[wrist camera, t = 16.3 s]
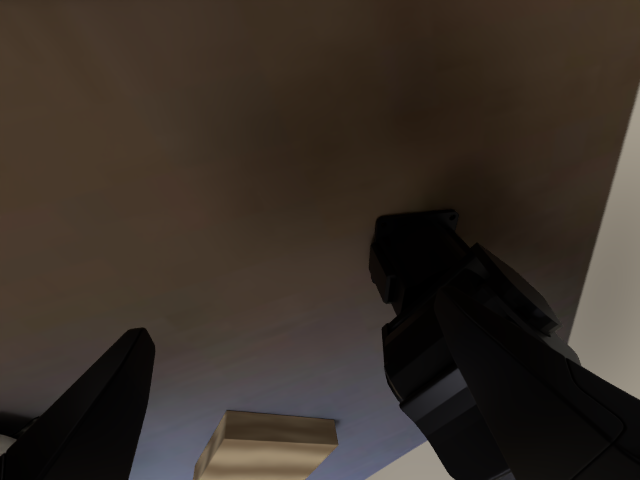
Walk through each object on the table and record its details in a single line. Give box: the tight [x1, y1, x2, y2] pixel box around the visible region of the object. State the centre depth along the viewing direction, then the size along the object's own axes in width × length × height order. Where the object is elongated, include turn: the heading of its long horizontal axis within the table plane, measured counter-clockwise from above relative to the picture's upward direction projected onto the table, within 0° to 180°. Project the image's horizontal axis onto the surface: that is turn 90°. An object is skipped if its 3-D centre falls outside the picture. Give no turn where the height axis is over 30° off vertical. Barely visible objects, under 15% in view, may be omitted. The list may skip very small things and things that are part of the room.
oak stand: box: [193, 410, 338, 480], centre depth 40 cm, size 14×14×3 cm
